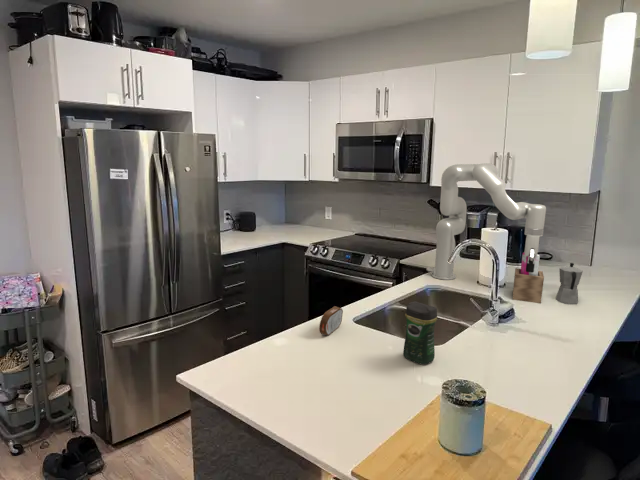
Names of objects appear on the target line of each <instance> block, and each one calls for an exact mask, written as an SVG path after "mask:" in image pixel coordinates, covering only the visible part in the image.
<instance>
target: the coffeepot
mask: <svg viewBox="0 0 640 480" xmlns="http://www.w3.org/2000/svg"><path fill="white" fill-rule="evenodd" d="M574 265H575V263H573V262H570V263H569V266H561V267H559V282H560V286H559V287H558V290H557V293H556V297H555V301H557V302H559V303H562V304H565V305H577V304H578V303H579V289H578V286H579V284H580V283H581V282H580V281H581V278H582V275H583V272H584V271H583V269H580V268H577V267H574Z"/></svg>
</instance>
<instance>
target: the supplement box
mask: <svg viewBox="0 0 640 480" xmlns="http://www.w3.org/2000/svg"><path fill="white" fill-rule="evenodd" d="M524 254H525V253H524V252H522V256H521V267H520V269H521V274H524V275H533V276H538V271H539V266H540V258H541V257H540V256H541V255H539V254H538V253H537V257H536V258H535V261H534V264H535V265H534V272H526V265H527V262H528V256H526V257H525V255H524ZM529 256H530V255H529ZM529 259H530V258H529Z"/></svg>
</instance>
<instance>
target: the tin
mask: <svg viewBox="0 0 640 480" xmlns="http://www.w3.org/2000/svg"><path fill="white" fill-rule="evenodd" d="M343 312H344V311H343V308H341V307H339V306H335V305H334V306H333V307H332V308H329V309H328V310H326V311H325V312H324V313H323V315H322V316H321V318H320V322H319V327H318V328H319V333H320V335H324V336H330V335H332V333H334V332H335V331H336V330H337V329H339V328H340V326H341V324H342V320H343Z"/></svg>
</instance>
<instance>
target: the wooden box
mask: <svg viewBox="0 0 640 480" xmlns="http://www.w3.org/2000/svg"><path fill="white" fill-rule="evenodd" d="M514 269H515V271H514V276H513V277H514V279H513V287H512V300H514V301H521V302H528V303H535V304H541V303H542V297H543V287H544V280H545V276H544V273H543V270H538V276H533V275H524V274H521V268H514Z"/></svg>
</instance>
